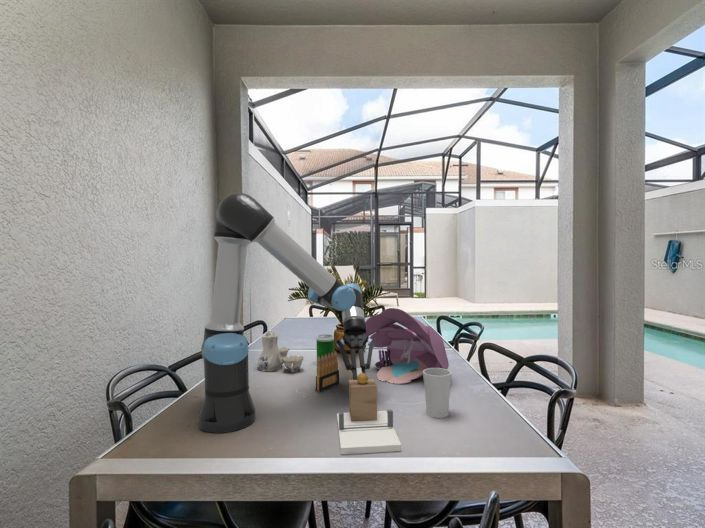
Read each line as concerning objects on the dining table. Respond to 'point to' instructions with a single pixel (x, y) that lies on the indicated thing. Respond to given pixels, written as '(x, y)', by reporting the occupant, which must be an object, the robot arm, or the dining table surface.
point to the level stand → (367, 434)
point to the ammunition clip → (327, 372)
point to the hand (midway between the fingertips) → (360, 390)
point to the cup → (437, 391)
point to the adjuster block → (362, 398)
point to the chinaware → (276, 355)
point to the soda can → (325, 345)
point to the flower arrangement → (405, 346)
